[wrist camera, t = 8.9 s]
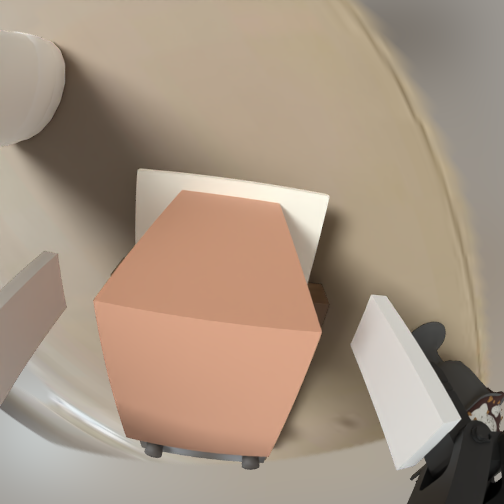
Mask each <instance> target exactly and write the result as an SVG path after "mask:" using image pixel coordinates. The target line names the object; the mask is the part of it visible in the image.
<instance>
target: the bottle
mask: <svg viewBox="0 0 504 504" xmlns="http://www.w3.org/2000/svg"><path fill="white" fill-rule="evenodd" d="M64 85H65V62H64V59H63V56H62V53H61V50H60V49H59V48H58V47H57V46H56V45H55V44H54V43H53V42H52V41H50V40H46V39H43V38H42V37H39V36H36V35H32V34H27V33H22V32H10V31H5V30H0V147H3V146H8V145H12V144H15V143H17V142H19V141H22V140H27V139H29V138H31V137H33V136H34V135H36V134H38V133H40V132H41V131H42V129H43V128H44V127H45V126H46V125H47V124H48V123H49V122H50V120H51V119H52V117H53V115H54V113H55V111H56V109H57V107H58V105H59V104H60V101H61V97H62V93H63V89H64Z"/></svg>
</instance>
